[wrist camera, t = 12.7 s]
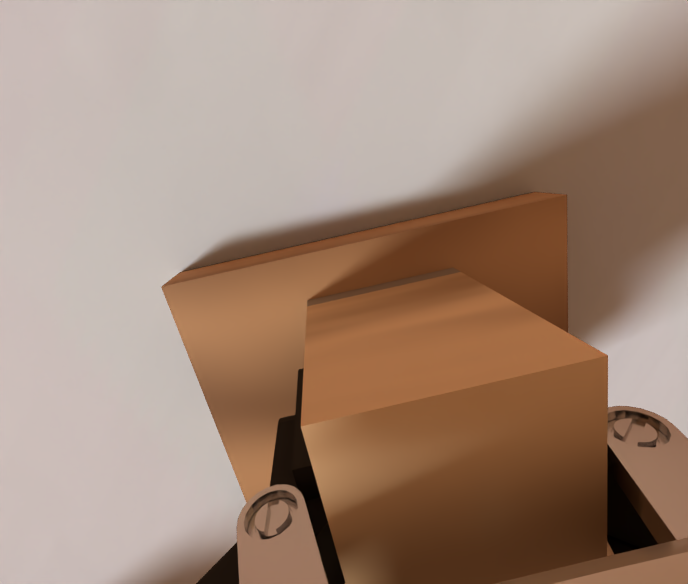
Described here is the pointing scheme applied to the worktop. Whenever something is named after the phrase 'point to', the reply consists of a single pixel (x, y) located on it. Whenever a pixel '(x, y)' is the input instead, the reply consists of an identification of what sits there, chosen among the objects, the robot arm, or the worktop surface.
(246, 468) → the board
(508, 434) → the block
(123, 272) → the worktop surface
